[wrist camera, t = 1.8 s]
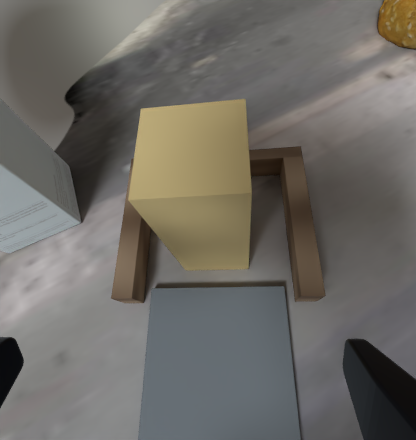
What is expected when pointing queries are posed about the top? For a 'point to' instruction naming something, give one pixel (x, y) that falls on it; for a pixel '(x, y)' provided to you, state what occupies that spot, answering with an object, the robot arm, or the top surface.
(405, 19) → the bagel
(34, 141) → the supplement box
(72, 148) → the top surface
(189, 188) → the ochre block
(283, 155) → the frame
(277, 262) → the top surface
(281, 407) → the slate mat
